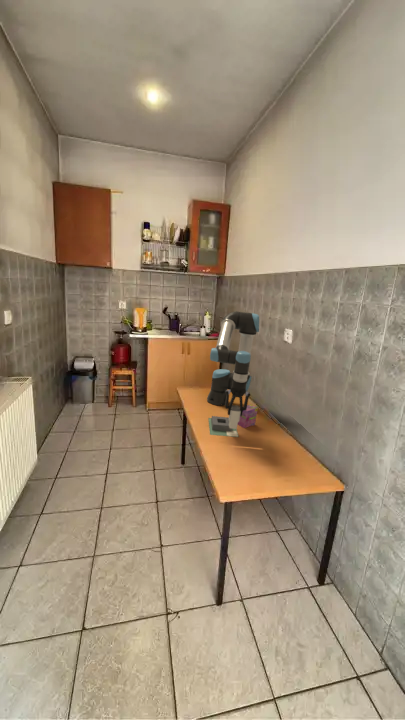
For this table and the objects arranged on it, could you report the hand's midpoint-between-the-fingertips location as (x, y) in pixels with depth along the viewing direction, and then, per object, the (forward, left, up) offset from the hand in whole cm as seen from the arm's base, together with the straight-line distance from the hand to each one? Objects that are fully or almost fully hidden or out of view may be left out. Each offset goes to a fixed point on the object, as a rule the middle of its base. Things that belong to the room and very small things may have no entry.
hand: (233, 420), depth 164 cm
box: (-14, +11, -9) cm, 19 cm away
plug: (0, 0, -4) cm, 4 cm away
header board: (-7, -4, -9) cm, 12 cm away
